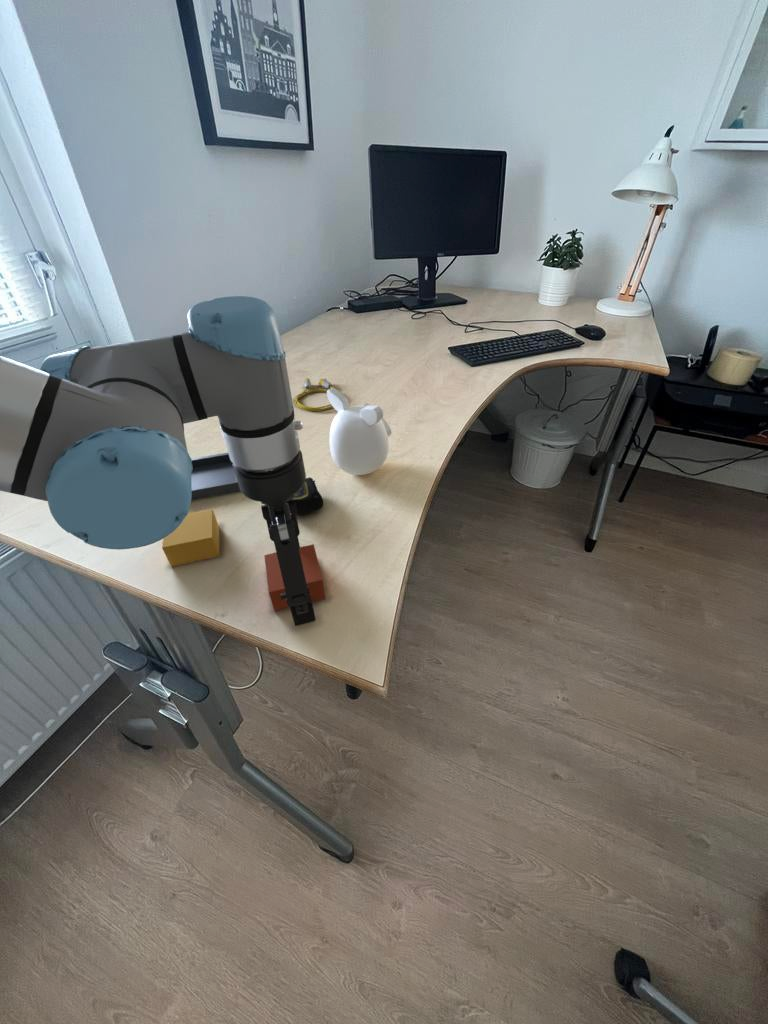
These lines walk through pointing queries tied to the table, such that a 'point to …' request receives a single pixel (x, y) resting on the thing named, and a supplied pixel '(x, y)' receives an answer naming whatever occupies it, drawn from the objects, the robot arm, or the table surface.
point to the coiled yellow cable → (307, 386)
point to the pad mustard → (193, 539)
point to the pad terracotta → (310, 572)
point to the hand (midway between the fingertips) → (297, 582)
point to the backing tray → (213, 476)
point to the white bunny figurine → (357, 436)
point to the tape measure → (308, 498)
